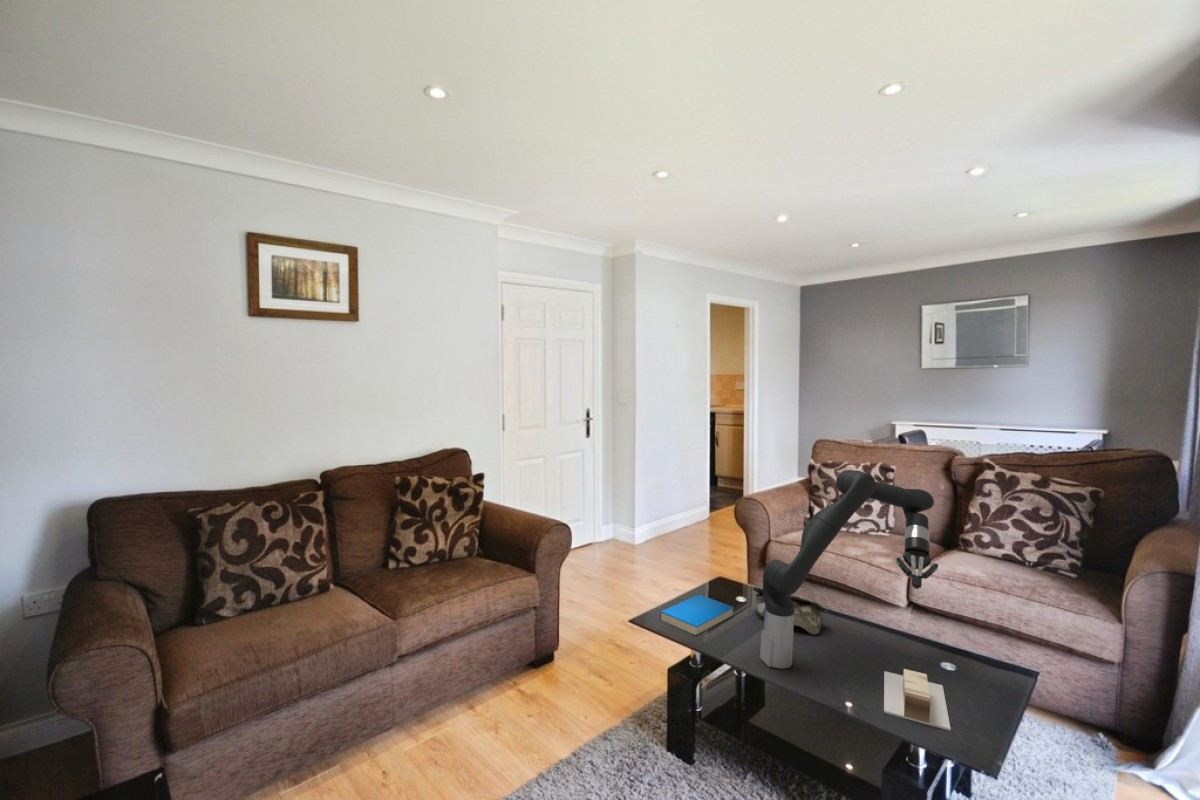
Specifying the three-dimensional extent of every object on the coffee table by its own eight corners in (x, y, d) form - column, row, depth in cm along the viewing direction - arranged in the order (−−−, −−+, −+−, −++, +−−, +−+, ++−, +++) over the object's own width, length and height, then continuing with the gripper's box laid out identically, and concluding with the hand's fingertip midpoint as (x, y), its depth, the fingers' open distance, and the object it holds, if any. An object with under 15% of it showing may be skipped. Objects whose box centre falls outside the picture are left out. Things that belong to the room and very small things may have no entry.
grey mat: (950, 730, 149) (950, 728, 149) (884, 712, 156) (884, 710, 156) (942, 687, 170) (942, 685, 170) (884, 672, 177) (884, 671, 177)
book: (733, 606, 217) (697, 625, 199) (733, 617, 217) (696, 637, 199) (697, 593, 229) (660, 610, 211) (697, 603, 229) (659, 621, 211)
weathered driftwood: (750, 624, 220) (739, 605, 212) (760, 595, 227) (750, 576, 219) (822, 645, 202) (813, 626, 194) (831, 614, 209) (822, 593, 201)
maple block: (925, 693, 165) (929, 723, 151) (902, 687, 168) (904, 716, 154) (926, 674, 165) (930, 701, 151) (903, 668, 168) (905, 695, 153)
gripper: (896, 533, 193) (894, 578, 183) (940, 539, 187) (941, 586, 177) (895, 543, 198) (893, 588, 188) (937, 550, 192) (938, 597, 182)
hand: (916, 587), depth 182 cm, fingers closed
